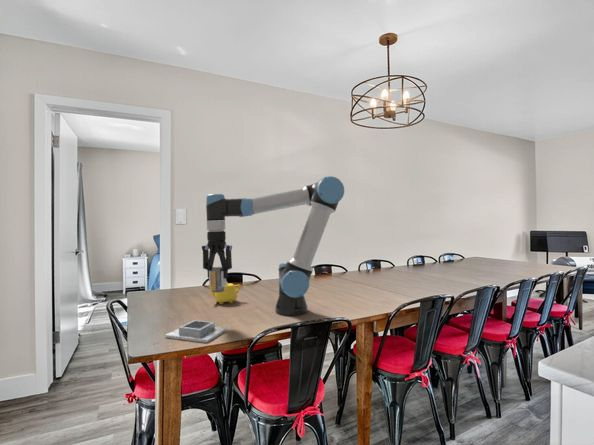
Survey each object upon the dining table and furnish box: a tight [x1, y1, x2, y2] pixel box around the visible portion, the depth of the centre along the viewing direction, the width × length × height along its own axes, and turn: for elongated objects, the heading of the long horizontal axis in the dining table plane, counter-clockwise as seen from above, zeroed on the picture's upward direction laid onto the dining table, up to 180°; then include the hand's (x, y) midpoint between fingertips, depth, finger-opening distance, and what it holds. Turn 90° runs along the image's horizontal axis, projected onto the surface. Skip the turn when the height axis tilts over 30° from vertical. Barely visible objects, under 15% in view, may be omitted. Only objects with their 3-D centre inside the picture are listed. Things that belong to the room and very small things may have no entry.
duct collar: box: [164, 319, 228, 344], centre depth 126 cm, size 18×14×4 cm
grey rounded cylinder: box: [211, 266, 224, 293], centre depth 139 cm, size 5×6×10 cm
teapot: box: [207, 281, 242, 305], centre depth 175 cm, size 18×11×11 cm, turn 110°
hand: (217, 285), depth 140 cm, fingers closed on grey rounded cylinder, 5 cm apart
